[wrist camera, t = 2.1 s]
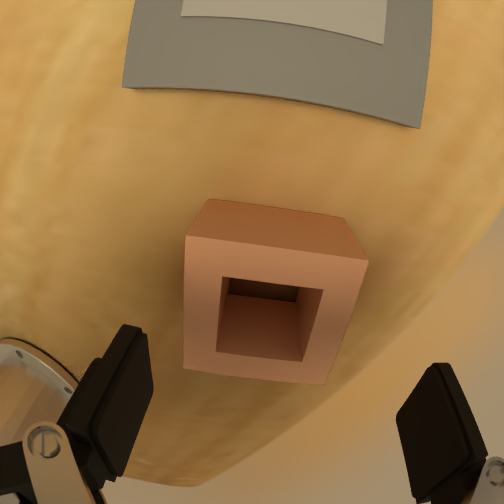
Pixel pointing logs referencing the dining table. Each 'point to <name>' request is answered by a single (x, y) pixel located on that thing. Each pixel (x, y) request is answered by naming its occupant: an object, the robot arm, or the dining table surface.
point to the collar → (266, 310)
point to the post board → (288, 51)
